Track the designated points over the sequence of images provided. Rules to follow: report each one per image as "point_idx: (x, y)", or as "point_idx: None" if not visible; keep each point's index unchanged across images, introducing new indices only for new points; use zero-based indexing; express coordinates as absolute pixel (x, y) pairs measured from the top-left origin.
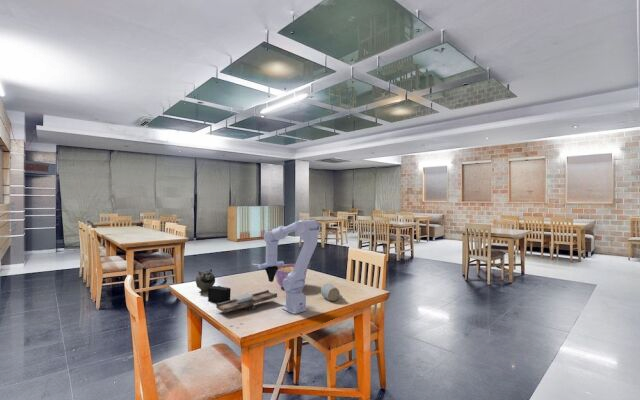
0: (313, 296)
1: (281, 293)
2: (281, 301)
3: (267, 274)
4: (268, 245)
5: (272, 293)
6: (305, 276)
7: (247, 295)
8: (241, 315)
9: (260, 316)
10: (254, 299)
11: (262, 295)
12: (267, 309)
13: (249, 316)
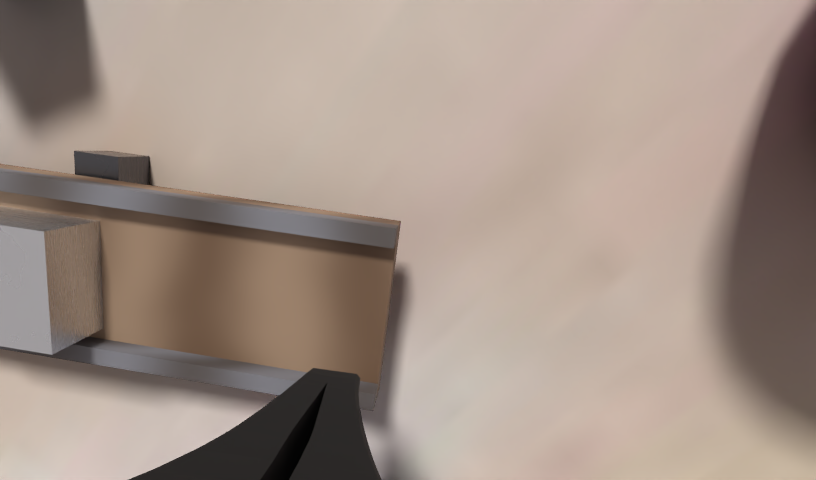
0: (758, 458)
1: (651, 160)
2: (452, 345)
3: (226, 442)
4: None
5: (382, 321)
6: None
7: (7, 292)
8: (5, 351)
9: (109, 462)
10: (94, 350)
11: (264, 279)
12: (232, 399)
13: (45, 408)
